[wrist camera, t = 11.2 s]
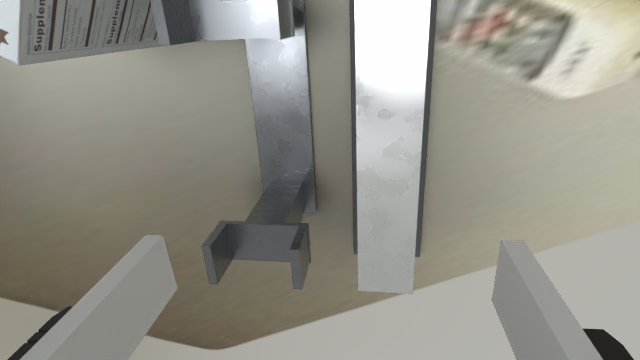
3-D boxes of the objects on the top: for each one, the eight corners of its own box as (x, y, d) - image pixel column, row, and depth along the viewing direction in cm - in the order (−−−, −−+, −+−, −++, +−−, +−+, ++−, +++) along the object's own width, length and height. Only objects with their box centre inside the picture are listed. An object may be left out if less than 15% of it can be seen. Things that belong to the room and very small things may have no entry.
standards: (259, 209, 38) (209, 288, 27) (230, -15, 30) (142, -31, 19) (325, 210, 36) (303, 293, 26) (314, -20, 29) (274, -42, 18)
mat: (354, 250, 38) (353, 254, 37) (349, -62, 27) (348, -63, 27) (419, 253, 37) (419, 256, 36) (440, -70, 26) (441, -72, 26)
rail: (361, 250, 37) (358, 290, 32) (359, -56, 27) (353, -74, 21) (407, 252, 36) (412, 293, 31) (424, -61, 26) (435, -81, 21)
